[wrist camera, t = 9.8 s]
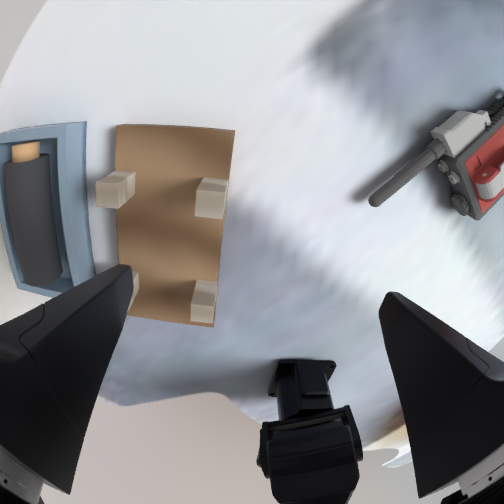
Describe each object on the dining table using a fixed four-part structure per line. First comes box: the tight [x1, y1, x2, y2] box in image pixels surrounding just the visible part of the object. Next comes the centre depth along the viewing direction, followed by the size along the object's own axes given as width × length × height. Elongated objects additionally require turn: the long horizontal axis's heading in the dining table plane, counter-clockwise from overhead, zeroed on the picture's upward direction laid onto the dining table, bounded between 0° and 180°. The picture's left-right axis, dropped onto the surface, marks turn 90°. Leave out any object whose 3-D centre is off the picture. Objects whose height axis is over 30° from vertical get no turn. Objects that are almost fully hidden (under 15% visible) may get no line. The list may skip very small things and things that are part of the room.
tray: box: [0, 122, 96, 298], centre depth 19 cm, size 15×9×3 cm, turn 172°
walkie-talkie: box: [368, 97, 504, 220], centre depth 17 cm, size 9×4×20 cm
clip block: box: [95, 124, 235, 327], centre depth 19 cm, size 16×8×4 cm, turn 172°
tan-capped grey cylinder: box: [3, 140, 63, 287], centre depth 17 cm, size 11×4×4 cm, turn 172°
